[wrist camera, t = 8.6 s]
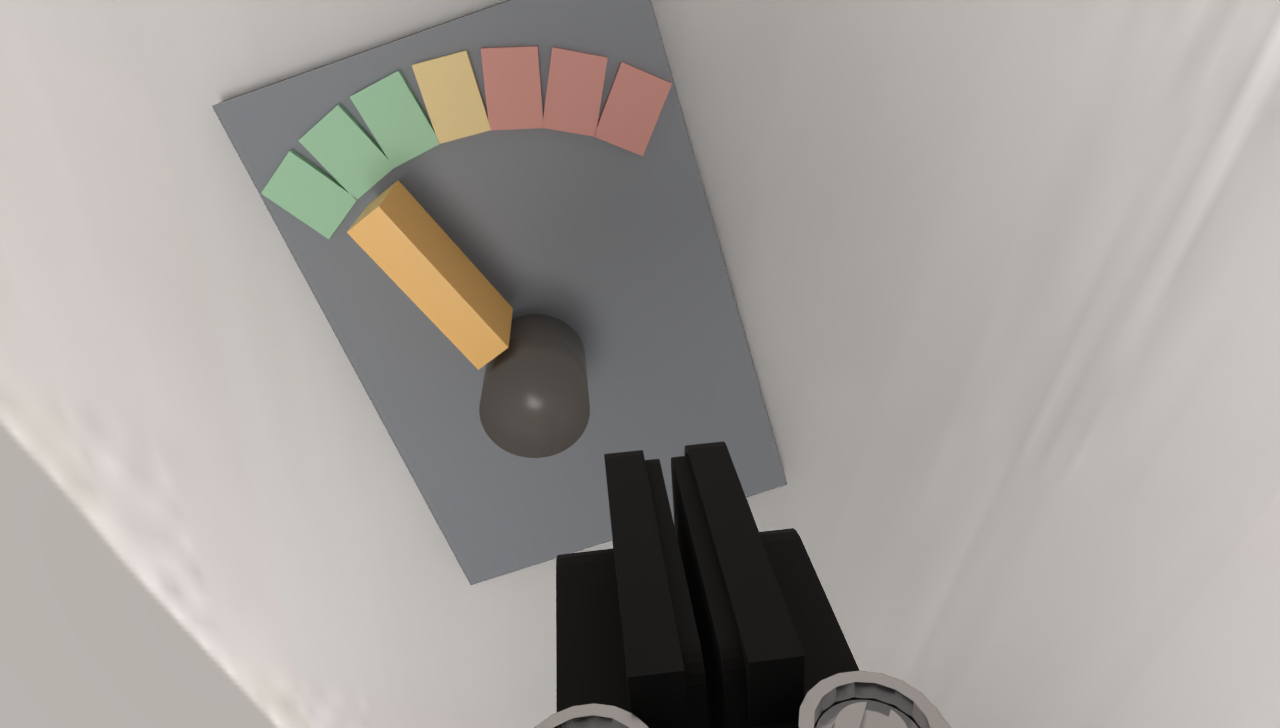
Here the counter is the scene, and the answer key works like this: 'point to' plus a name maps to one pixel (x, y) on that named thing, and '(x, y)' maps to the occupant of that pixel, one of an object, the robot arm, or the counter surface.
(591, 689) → the robot arm
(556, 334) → the dial knob with pointer
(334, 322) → the dial board
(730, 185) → the counter surface
